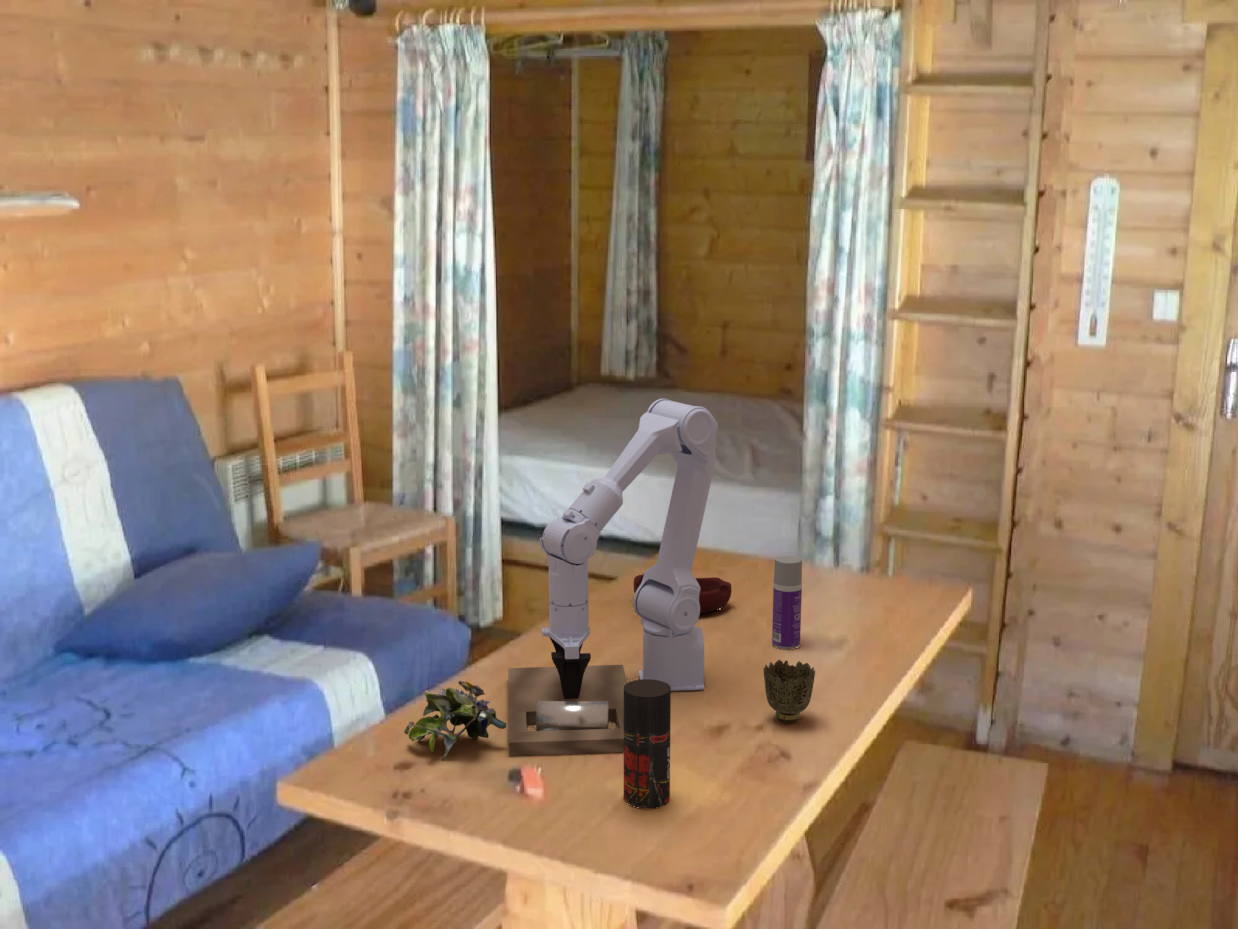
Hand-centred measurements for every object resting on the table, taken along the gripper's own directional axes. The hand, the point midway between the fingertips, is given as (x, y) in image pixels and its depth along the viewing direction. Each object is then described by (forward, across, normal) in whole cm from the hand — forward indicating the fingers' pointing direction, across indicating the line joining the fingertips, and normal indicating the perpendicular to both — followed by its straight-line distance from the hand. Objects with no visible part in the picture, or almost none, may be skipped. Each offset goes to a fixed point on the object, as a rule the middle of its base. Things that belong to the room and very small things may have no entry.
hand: (569, 688), depth 203 cm
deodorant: (+3, +30, +8) cm, 31 cm away
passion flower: (+4, +12, -17) cm, 21 cm away
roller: (+1, +9, 0) cm, 9 cm away
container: (+4, -24, +38) cm, 45 cm away
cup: (+4, +7, +31) cm, 32 cm away
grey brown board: (+3, +2, 0) cm, 4 cm away
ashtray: (+4, -44, +21) cm, 49 cm away
